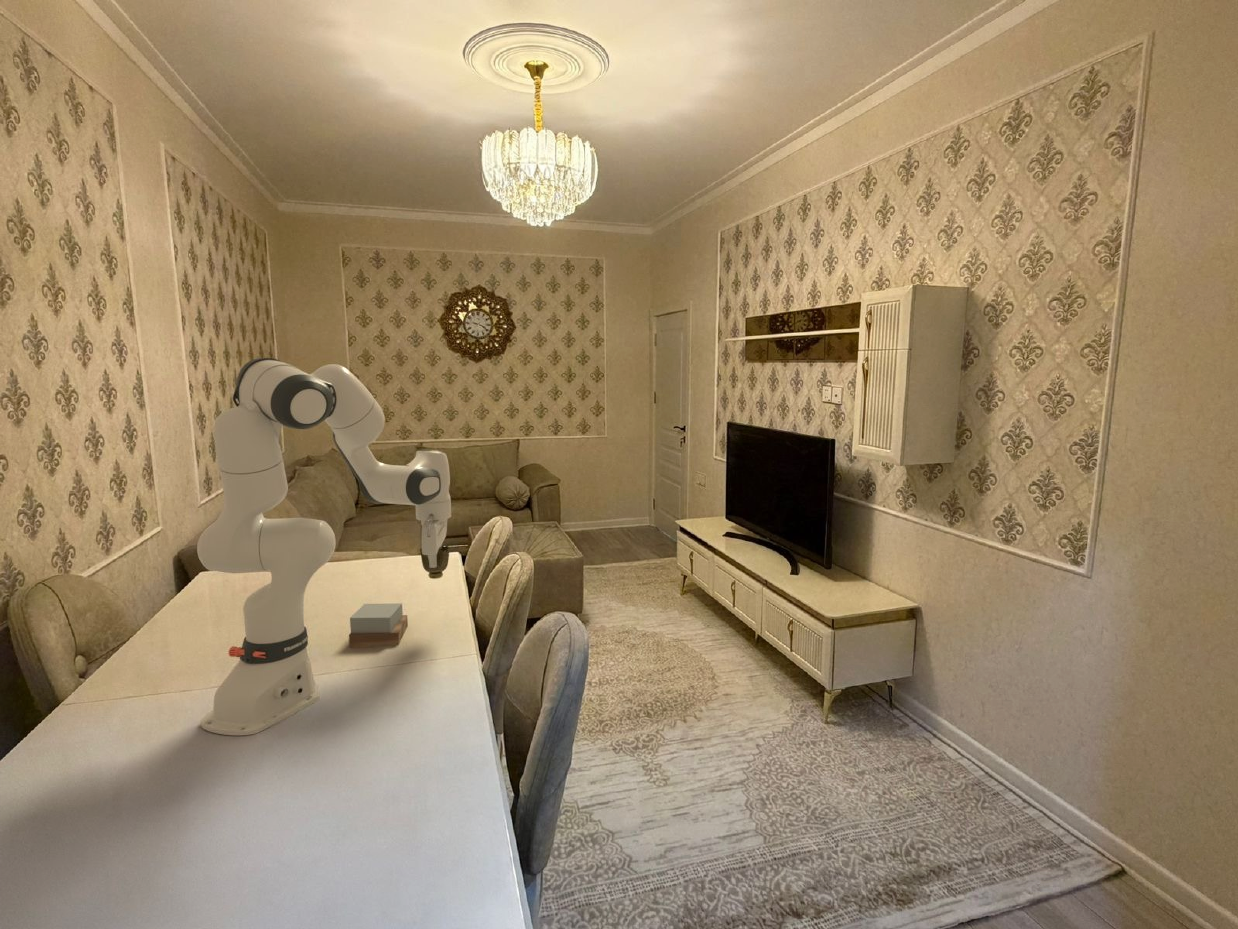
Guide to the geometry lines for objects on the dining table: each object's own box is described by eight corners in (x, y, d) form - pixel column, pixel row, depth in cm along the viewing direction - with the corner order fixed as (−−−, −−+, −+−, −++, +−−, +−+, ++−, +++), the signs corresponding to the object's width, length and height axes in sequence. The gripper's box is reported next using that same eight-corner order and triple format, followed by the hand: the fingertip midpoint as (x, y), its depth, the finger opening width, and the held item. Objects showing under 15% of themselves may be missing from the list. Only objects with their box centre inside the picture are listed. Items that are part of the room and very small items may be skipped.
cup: (454, 574, 170) (453, 545, 170) (444, 581, 163) (443, 550, 162) (427, 574, 171) (426, 545, 170) (416, 580, 163) (415, 550, 163)
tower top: (390, 632, 161) (389, 617, 161) (350, 632, 161) (349, 617, 160) (402, 617, 171) (402, 603, 171) (365, 617, 171) (364, 603, 170)
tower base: (399, 647, 162) (398, 632, 161) (349, 650, 160) (348, 635, 160) (407, 629, 174) (407, 615, 173) (362, 631, 172) (361, 617, 171)
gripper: (440, 519, 155) (442, 574, 157) (450, 503, 175) (452, 552, 177) (414, 519, 154) (416, 575, 156) (426, 504, 174) (428, 553, 176)
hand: (435, 563), depth 166 cm, fingers closed on cup, 6 cm apart
